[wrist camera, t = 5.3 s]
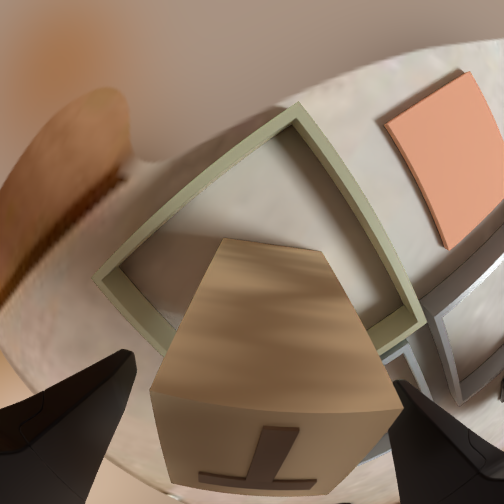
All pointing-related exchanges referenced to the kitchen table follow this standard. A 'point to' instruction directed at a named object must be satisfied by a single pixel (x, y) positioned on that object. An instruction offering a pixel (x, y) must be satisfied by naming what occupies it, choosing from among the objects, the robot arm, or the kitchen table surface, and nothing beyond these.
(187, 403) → the letter block
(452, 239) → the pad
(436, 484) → the robot arm
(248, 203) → the kitchen table surface
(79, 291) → the kitchen table surface
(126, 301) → the tray olive
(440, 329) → the tray charcoal
